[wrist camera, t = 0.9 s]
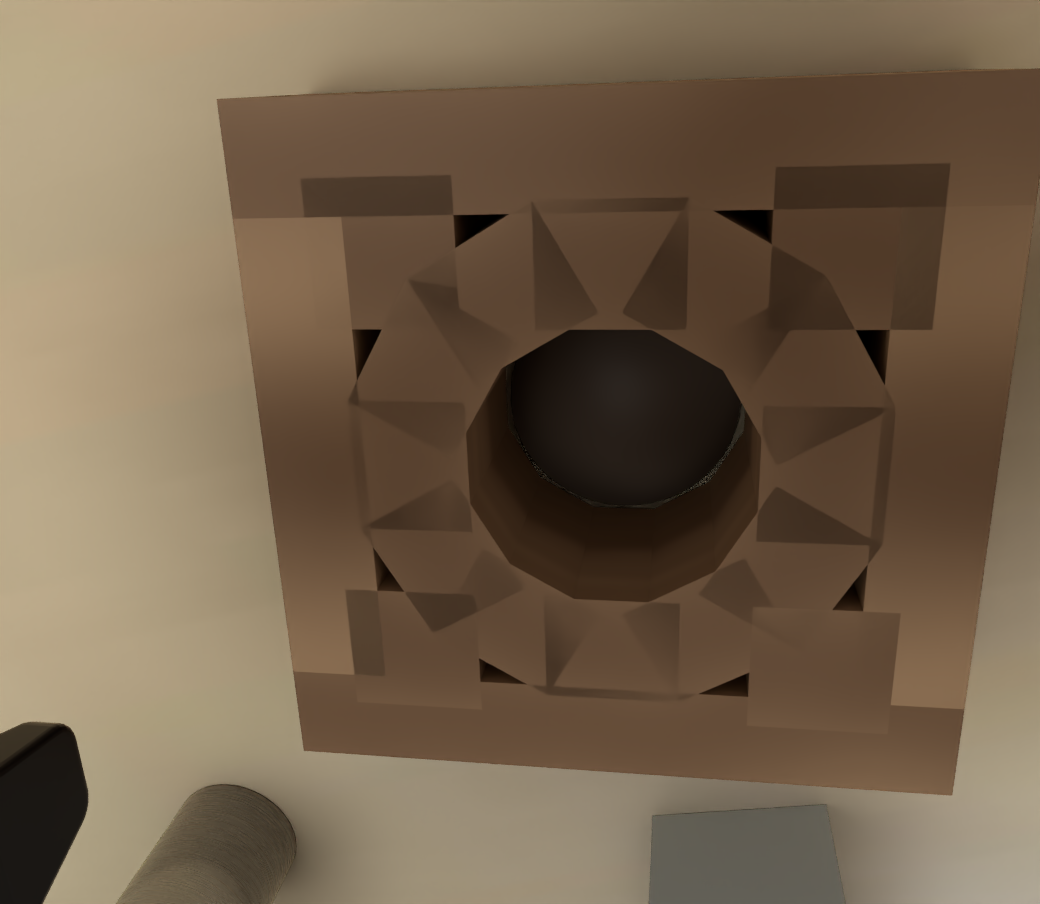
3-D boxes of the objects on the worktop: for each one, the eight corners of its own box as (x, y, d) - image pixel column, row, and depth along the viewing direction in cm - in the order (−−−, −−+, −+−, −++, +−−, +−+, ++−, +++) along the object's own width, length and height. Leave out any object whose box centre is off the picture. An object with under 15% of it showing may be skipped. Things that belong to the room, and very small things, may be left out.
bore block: (905, 670, 21) (951, 795, 18) (364, 642, 23) (303, 750, 19) (974, 69, 17) (1055, 68, 13) (307, 94, 19) (217, 99, 15)
